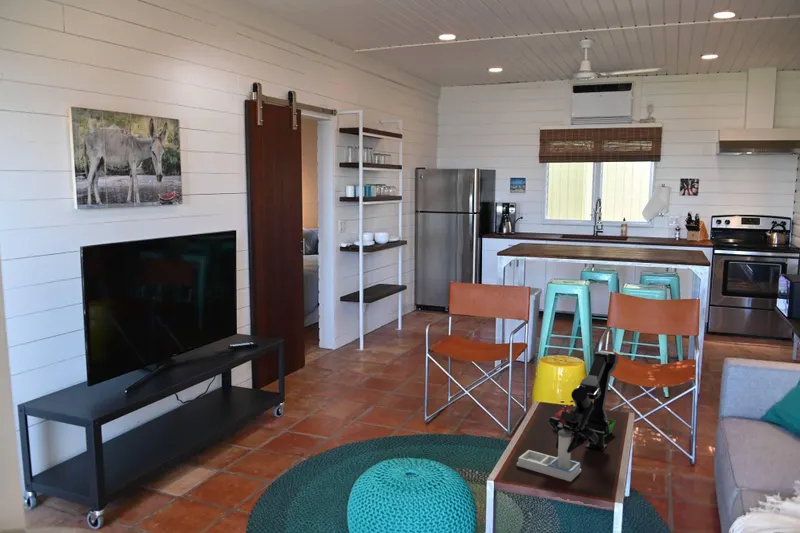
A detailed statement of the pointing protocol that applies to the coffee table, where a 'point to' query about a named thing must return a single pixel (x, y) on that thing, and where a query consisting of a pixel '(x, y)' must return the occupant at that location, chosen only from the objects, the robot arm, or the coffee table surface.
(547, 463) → the compartment tray
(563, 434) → the plug post
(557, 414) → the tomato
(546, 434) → the coffee table surface
